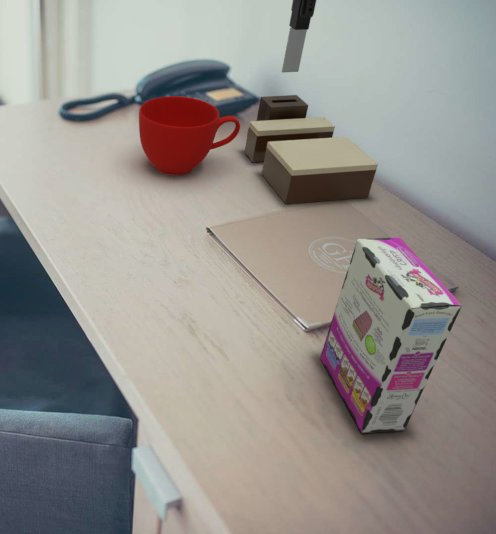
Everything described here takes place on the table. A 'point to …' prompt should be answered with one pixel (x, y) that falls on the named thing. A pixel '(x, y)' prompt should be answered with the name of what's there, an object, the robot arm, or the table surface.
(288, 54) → the knife
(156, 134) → the ceramic cup
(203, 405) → the table surface
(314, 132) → the cake slice
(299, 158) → the cake
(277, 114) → the knife block
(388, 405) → the candy bar box
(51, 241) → the table surface
